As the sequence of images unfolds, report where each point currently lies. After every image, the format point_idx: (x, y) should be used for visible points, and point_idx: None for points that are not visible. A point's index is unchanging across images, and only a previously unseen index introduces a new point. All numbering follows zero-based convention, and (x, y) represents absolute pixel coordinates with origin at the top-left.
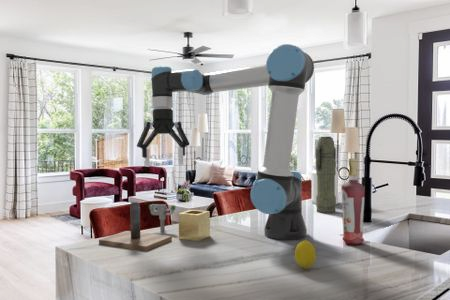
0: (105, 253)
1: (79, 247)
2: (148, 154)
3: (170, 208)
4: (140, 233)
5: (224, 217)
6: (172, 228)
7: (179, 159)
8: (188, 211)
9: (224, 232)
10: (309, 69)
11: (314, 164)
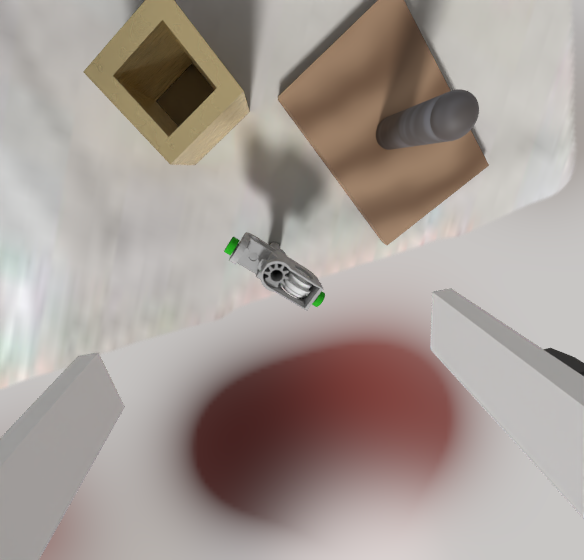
0: (500, 36)
1: (533, 151)
2: (541, 362)
3: (248, 239)
4: (360, 189)
5: (35, 349)
6: (237, 266)
7: (89, 430)
8: (188, 121)
9: (70, 130)
10: None
11: None
